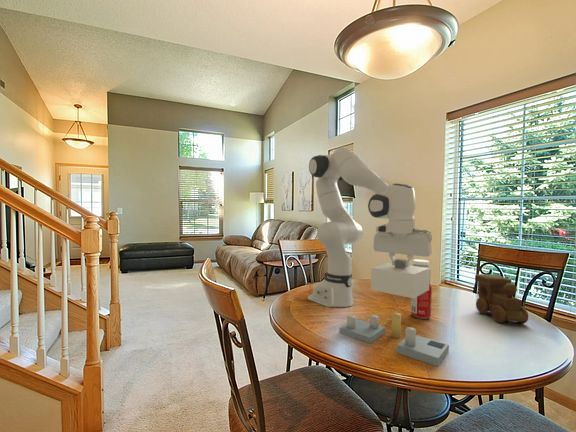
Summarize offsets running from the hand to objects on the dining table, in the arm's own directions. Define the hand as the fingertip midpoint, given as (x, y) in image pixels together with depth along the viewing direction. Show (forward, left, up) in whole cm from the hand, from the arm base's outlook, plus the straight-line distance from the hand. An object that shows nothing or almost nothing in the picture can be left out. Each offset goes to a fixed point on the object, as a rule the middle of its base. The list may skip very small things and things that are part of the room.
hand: (400, 266), depth 108 cm
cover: (0, 0, -9) cm, 9 cm away
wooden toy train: (+25, +47, -25) cm, 59 cm away
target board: (+11, -9, -25) cm, 29 cm away
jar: (-12, +61, -25) cm, 67 cm away
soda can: (0, +24, -25) cm, 34 cm away
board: (-10, -9, -25) cm, 28 cm away
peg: (0, -3, -25) cm, 25 cm away
